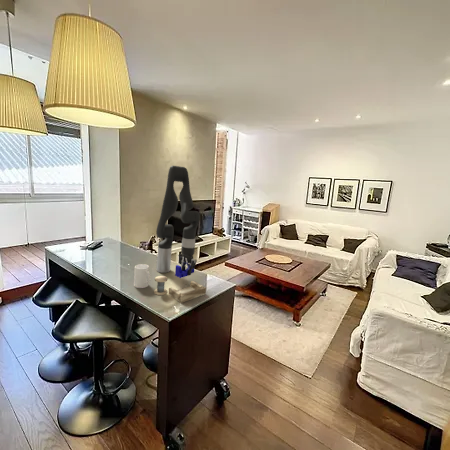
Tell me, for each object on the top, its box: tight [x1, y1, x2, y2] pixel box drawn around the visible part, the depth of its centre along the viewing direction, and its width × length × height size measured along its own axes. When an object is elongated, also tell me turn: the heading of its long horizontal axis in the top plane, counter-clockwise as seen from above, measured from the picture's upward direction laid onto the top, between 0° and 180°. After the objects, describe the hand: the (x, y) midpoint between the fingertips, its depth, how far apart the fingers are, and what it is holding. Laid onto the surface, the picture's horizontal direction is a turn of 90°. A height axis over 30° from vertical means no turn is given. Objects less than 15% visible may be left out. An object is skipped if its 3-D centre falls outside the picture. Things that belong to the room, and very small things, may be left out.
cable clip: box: [174, 263, 195, 279], centre depth 145 cm, size 12×4×6 cm, turn 141°
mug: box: [133, 263, 151, 289], centre depth 150 cm, size 12×8×12 cm
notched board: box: [168, 280, 207, 304], centre depth 146 cm, size 12×18×4 cm, turn 137°
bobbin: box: [153, 275, 168, 296], centre depth 144 cm, size 7×7×9 cm
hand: (186, 273), depth 146 cm, fingers closed on cable clip, 4 cm apart
